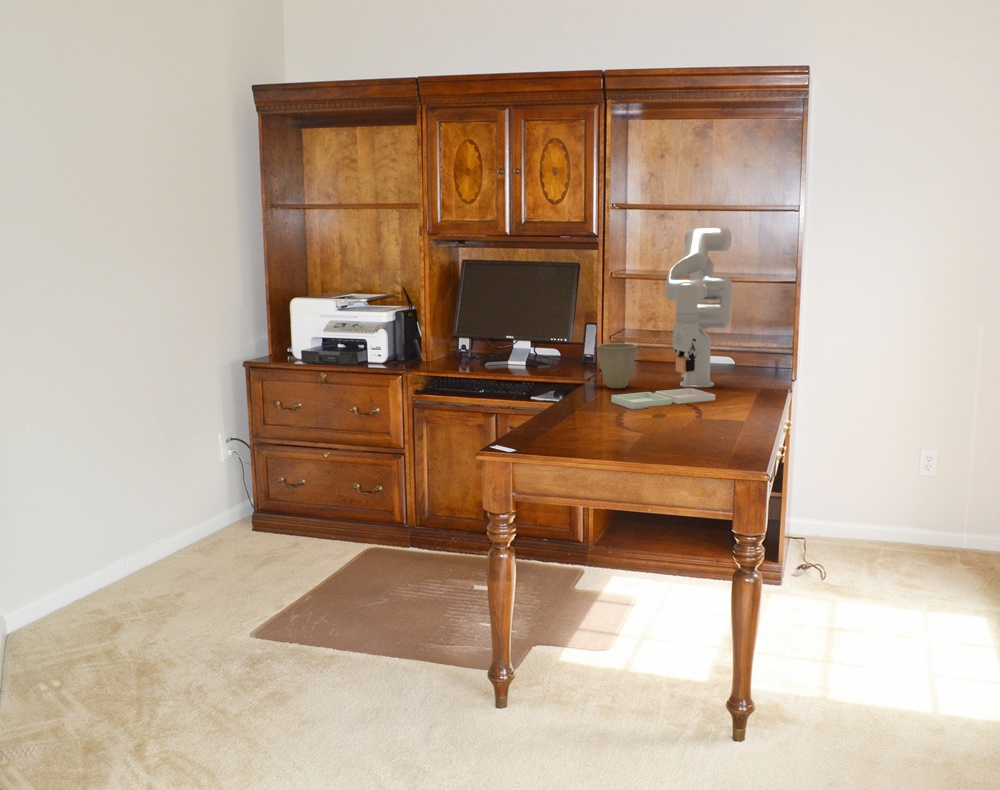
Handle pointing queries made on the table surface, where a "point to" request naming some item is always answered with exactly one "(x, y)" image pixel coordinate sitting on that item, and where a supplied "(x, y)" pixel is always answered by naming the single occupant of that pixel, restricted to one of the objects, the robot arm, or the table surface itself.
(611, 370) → the plant pot
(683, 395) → the white tray
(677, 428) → the table surface
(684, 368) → the brown cube
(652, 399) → the green tray
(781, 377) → the table surface
